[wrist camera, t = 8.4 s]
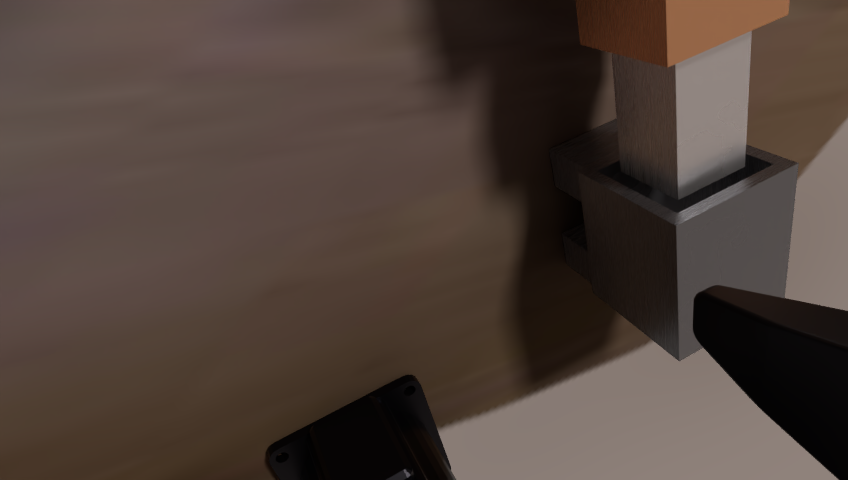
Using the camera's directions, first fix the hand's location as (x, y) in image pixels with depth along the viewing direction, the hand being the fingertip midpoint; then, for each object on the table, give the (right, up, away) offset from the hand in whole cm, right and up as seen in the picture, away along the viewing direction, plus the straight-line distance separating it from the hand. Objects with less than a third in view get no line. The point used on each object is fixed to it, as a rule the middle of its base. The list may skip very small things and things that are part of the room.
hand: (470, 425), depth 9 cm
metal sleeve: (+6, +5, +15) cm, 17 cm away
